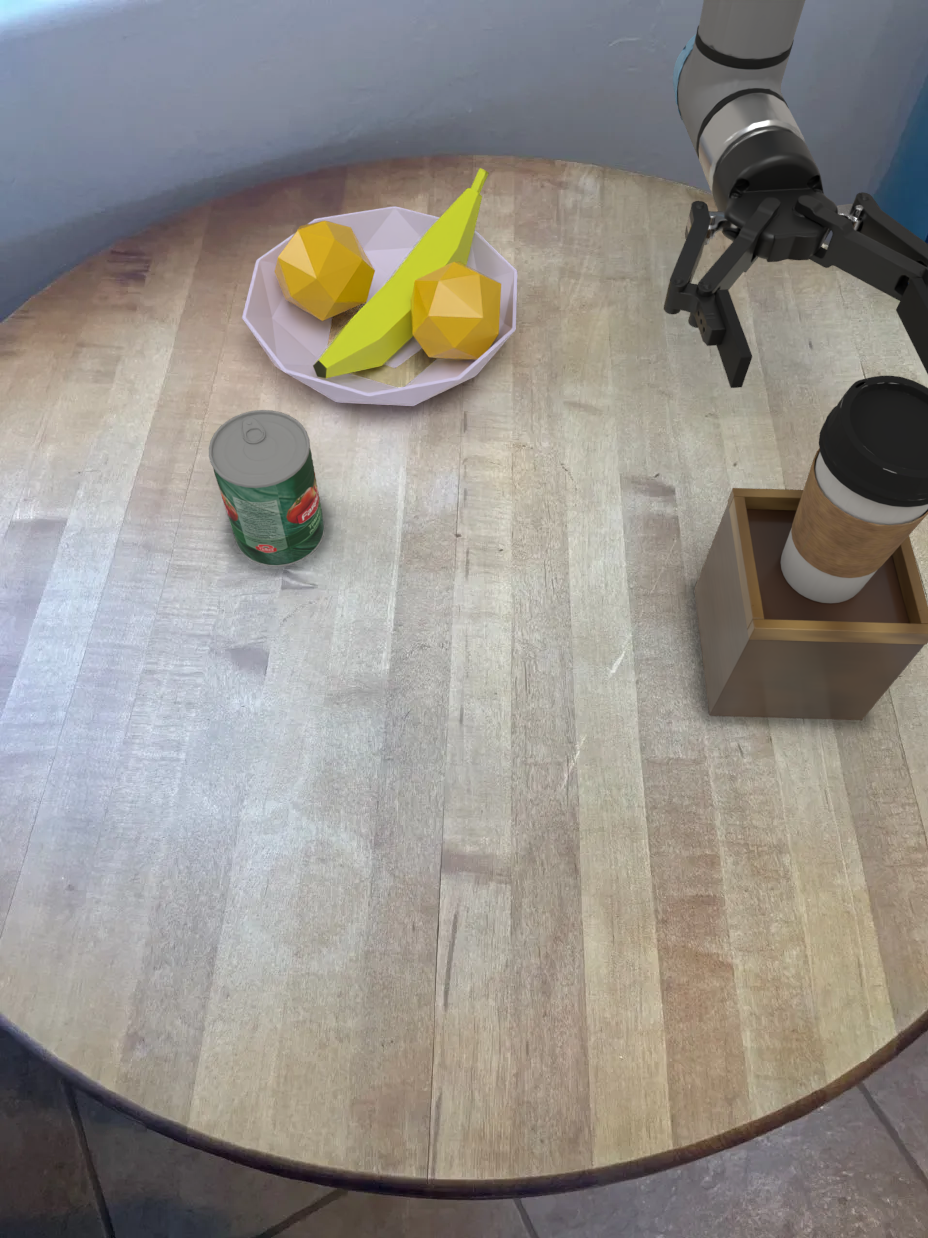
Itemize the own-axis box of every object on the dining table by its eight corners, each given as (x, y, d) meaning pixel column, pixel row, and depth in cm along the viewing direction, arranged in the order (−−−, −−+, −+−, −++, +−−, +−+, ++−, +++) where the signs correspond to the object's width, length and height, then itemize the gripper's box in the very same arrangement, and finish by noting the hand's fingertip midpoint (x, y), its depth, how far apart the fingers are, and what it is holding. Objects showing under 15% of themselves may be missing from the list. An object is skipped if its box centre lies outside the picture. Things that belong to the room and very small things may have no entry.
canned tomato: (337, 551, 84) (323, 467, 74) (249, 579, 82) (223, 498, 72) (309, 485, 87) (292, 398, 78) (224, 511, 86) (197, 425, 76)
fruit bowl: (340, 480, 88) (327, 390, 78) (211, 310, 100) (186, 213, 90) (585, 363, 96) (600, 268, 86) (440, 218, 108) (439, 121, 98)
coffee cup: (820, 504, 72) (900, 350, 59) (907, 582, 68) (1013, 436, 55) (737, 556, 69) (802, 407, 56) (823, 640, 65) (914, 501, 53)
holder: (834, 593, 82) (897, 492, 70) (862, 722, 75) (936, 633, 64) (692, 589, 82) (732, 487, 70) (708, 717, 76) (754, 628, 64)
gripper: (895, 206, 78) (997, 395, 67) (594, 223, 77) (646, 418, 66) (935, 117, 72) (1053, 308, 61) (606, 133, 71) (667, 332, 59)
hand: (842, 366), depth 63 cm, fingers open, 13 cm apart
